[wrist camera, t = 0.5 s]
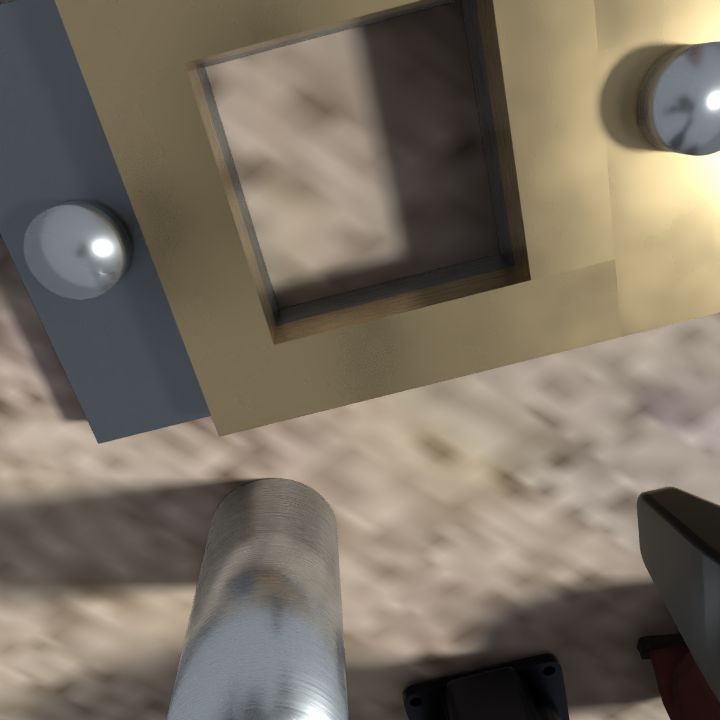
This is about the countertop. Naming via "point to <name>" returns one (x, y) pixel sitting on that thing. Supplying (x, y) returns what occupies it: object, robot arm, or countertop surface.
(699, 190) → the upper end link
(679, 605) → the robot arm
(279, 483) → the pin
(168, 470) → the countertop surface
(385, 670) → the countertop surface
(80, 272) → the lower end link
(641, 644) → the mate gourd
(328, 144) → the countertop surface
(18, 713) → the countertop surface
